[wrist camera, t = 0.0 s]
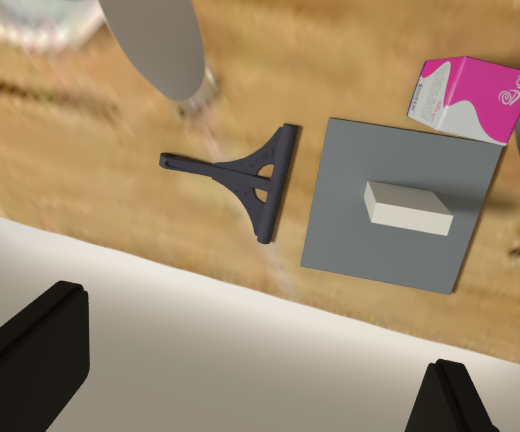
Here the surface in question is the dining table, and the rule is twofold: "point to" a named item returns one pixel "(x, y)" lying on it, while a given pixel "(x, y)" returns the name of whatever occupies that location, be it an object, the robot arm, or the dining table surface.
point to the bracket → (249, 177)
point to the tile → (406, 208)
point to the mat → (401, 174)
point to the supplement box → (468, 98)
